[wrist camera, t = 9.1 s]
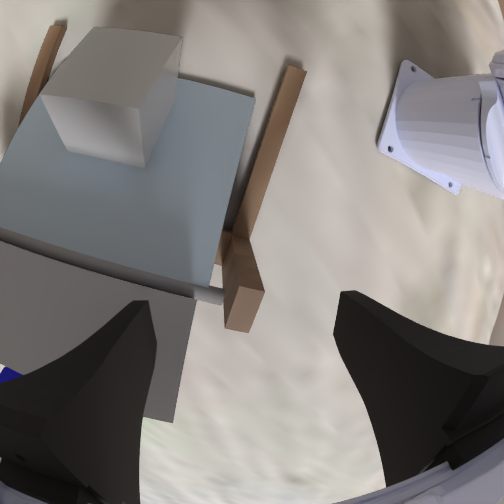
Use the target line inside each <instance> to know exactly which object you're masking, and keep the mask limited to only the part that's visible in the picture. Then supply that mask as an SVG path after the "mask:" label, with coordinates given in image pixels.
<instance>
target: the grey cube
mask: <svg viewBox="0 0 504 504" xmlns="http://www.w3.org/2000/svg"><path fill="white" fill-rule="evenodd" d="M182 39H183V37H178V36H173V35H167V34H161V33H154V32H147V31H140V30H131V29H120V28H107V27H94V28H93V29H92V30H91V31H90V32H89V33H88V34H87V35H86V36H85V37H84V39H83V40H82V41H81V42H80V43H79V44H78V45H77V47H76V48H75V49H74V50H73V51H72V52H71V54H70V55H69V56H68V57H67V58H66V60H65V61H64V62H63V63H62V65H61V66H60V67H59V69H58V70H57V71H56V72H55V74H54V75H53V76H52V78H51V79H50V81H49V82H48V83H47V85H46V86H45V88H44V89H43V90H42V92H41V93H40V96H41V98H42V101H43V103H44V105H45V107H46V109H47V111H48V113H49V115H50V118H51V120H52V122H53V124H54V126H55V128H56V130H57V132H58V134H59V136H60V137H61V139H62V141H63V143H64V145H65V147H66V149H67V151H69V152H74V153H78V154H83V155H88V156H92V157H97V158H101V159H105V160H110V161H114V162H118V163H122V164H127V165H131V166H135V167H139V168H143V169H146V166H147V164H148V161H149V159H150V156H151V154H152V152H153V149H154V147H155V144H156V142H157V140H158V138H159V135H160V133H161V131H162V129H163V126H164V124H165V122H166V120H167V118H168V115H169V113H170V111H171V109H172V107H173V105H174V103H175V100H176V89H177V80H178V71H179V62H180V54H181V46H182Z"/></svg>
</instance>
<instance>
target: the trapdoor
mask: <svg viewBox="0 0 504 504" xmlns="http://www.w3.org/2000/svg"><path fill="white" fill-rule="evenodd" d="M61 65H62V64H61ZM61 65H60V66H61ZM60 66H59V67H60ZM58 69H59V68H58ZM58 69H57V70H58ZM57 70H56V71H57ZM56 71H55V72H56ZM54 74H55V73H54ZM54 74H53V75H54ZM51 78H52V77H51ZM51 78H50V79H51ZM49 81H50V80H49ZM49 81H48V82H49ZM48 82H47V83H48ZM46 85H47V84H46ZM46 85H45V86H46ZM44 88H45V87H44ZM44 88H43V89H44ZM41 92H42V91H41ZM41 92H40V93H41ZM255 101H256V99H255V98H252V97H249V96H245V95H242V94H239V93H235V92H232V91H229V90H225V89H221V88H218V87H214V86H210V85H206V84H202V83H198V82H194V81H190V80H185V79H181V78H178V80H177V89H176V100H175V103H174V105H173V107H172V109H171V111H170V113H169V115H168V118H167V120H166V122H165V124H164V126H163V129H162V131H161V133H160V135H159V138H158V140H157V142H156V144H155V147H154V149H153V152H152V154H151V156H150V159H149V161H148V164H147V166H146V169H143V168H139V167H135V166H131V165H127V164H122V163H118V162H114V161H110V160H105V159H101V158H97V157H92V156H88V155H83V154H78V153H74V152H69V151H67V149H66V147H65V145H64V143H63V141H62V139H61V137H60V136H59V134H58V132H57V130H56V128H55V126H54V124H53V122H52V120H51V118H50V115H49V113H48V111H47V109H46V107H45V105H44V103H43V101H42V98H41V96H40V94H39V95H38V97H37V98H36V100H35V102H34V103H33V105H32V106H31V108H30V109H29V111H28V113H27V114H26V116H25V118H24V119H23V121H22V123H21V124H20V126H19V128H18V130H17V132H16V133H15V135H14V137H13V139H12V141H11V143H10V145H9V147H8V148H7V150H6V152H5V154H4V157H3V159H2V161H1V163H0V364H2V365H4V366H6V367H8V368H10V369H12V370H14V371H16V372H18V373H20V374H22V375H25V374H28V373H30V372H32V371H34V370H37V369H39V368H41V367H43V366H45V365H46V364H48V363H50V362H52V361H54V360H56V359H58V358H60V357H61V356H63V355H64V354H66V353H68V352H69V351H71V350H72V349H74V348H75V347H77V346H78V345H80V344H81V343H82V342H84V341H85V340H86V339H87V338H89V337H90V336H91V335H92V334H94V333H95V332H96V331H97V330H99V329H100V328H101V327H102V326H104V325H105V324H106V323H107V322H108V321H109V320H110V319H112V318H113V317H114V316H115V315H116V314H117V313H118V312H120V311H121V310H122V309H123V308H124V307H125V306H127V305H128V304H129V303H130V302H132V301H133V300H149V306H150V311H151V316H152V321H153V326H154V331H155V335H156V340H157V351H156V360H155V367H154V371H153V375H152V380H151V384H150V388H149V392H148V396H147V400H146V404H145V409H144V413H143V417H147V418H151V419H156V420H160V421H165V422H170V423H173V419H174V413H175V408H176V402H177V397H178V391H179V386H180V380H181V375H182V370H183V365H184V359H185V354H186V349H187V344H188V340H189V335H190V330H191V325H192V320H193V316H194V311H195V307H196V302H197V300H200V301H204V302H208V303H213V304H217V305H222V303H223V300H224V296H225V289H222V288H218V287H213V286H209V284H210V279H211V275H212V270H213V266H214V262H215V257H216V253H217V249H218V244H219V240H220V236H221V232H222V228H223V224H224V219H225V215H226V211H227V207H228V203H229V199H230V195H231V191H232V187H233V183H234V179H235V176H236V172H237V168H238V164H239V160H240V156H241V153H242V149H243V145H244V141H245V138H246V134H247V130H248V127H249V123H250V119H251V116H252V112H253V109H254V105H255ZM4 242H5V243H4ZM7 243H8V244H7ZM10 244H11V245H10ZM15 246H16V247H15ZM18 247H19V248H18ZM21 248H22V249H21ZM24 249H25V250H24ZM32 252H33V253H32ZM35 253H36V254H35ZM38 254H39V255H38ZM41 255H42V256H41ZM44 256H45V257H44ZM47 257H48V258H47ZM50 258H51V259H50ZM53 259H54V260H53ZM56 260H57V261H56ZM59 261H60V262H59ZM62 262H63V263H62ZM69 264H70V265H69ZM72 265H73V266H72ZM75 266H76V267H75ZM78 267H79V268H78ZM81 268H82V269H81ZM85 269H86V270H85ZM88 270H89V271H88ZM91 271H92V272H91ZM95 272H96V273H95ZM98 273H99V274H98ZM101 274H102V275H101ZM105 275H106V276H105ZM108 276H109V277H108ZM112 277H113V278H112ZM115 278H116V279H115ZM122 280H123V281H122ZM126 281H127V282H126ZM129 282H130V283H129ZM133 283H134V284H133ZM136 284H137V285H136ZM140 285H141V286H140ZM144 286H145V287H144ZM148 287H149V288H148ZM151 288H152V289H151ZM155 289H156V290H155ZM159 290H160V291H159ZM163 291H164V292H163ZM167 292H168V293H167ZM171 293H172V294H171ZM174 294H176V295H174ZM178 295H179V296H178ZM182 296H184V297H182ZM187 297H188V298H187ZM191 298H192V299H191ZM195 299H196V300H195Z"/></svg>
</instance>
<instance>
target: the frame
mask: <svg viewBox="0 0 504 504" xmlns="http://www.w3.org/2000/svg"><path fill="white" fill-rule="evenodd" d="M66 29H67V28H66V27H64V26H63V25H54V26H50V27H49V29H48V32H47V34H46V37H45V39H44V42H43V44H42V47H41V49H40V52H39V55H38V58H37V61H36V64H35V66H34V70H33V73H32V76H31V79H30V82H29V86H28V89H27V93H26V97H25V101H24V105H23V109H22V113H21V117H20V122H19V126H20V124H21V123H22V121H23V119H24V118H25V116H26V114H27V113H28V111H29V109H30V108H31V106H32V105H33V103H34V102H35V100H36V98H37V97H38V95H39V94H40V92H41V91H42V90H43V88H44V87H45V85H46V84H47V81H48V77H49V74H50V71H51V68H52V65H53V62H54V59H55V57H56V54H57V51H58V49H59V46H60V43H61V41H62V38H63V36H64V34H65V31H66ZM306 73H307V71H304V70H302V69H299V68H297V67H294V66H291V65H289V66H288V67H287V68H286V70H285V73H284V76H283V79H282V82H281V84H280V87H279V90H278V93H277V96H276V99H275V101H274V104H273V107H272V110H271V113H270V116H269V119H268V122H267V125H266V127H265V130H264V133H263V136H262V139H261V142H260V145H259V148H258V151H257V154H256V157H255V160H254V163H253V166H252V169H251V172H250V175H249V178H248V181H247V184H246V187H245V190H244V194H243V197H242V200H241V203H240V206H239V209H238V212H237V215H236V219H235V222H234V225H233V228H232V231H229V230H226V229H222V232H221V236H220V240H219V244H218V249H217V253H216V257H215V262H214V264H217V265H221V266H222V279H223V289H225V296H224V300H223V302H224V323H225V328H226V329H230V330H235V331H240V332H246V333H249V331H250V328H251V326H252V323H253V321H254V318H255V316H256V313H257V311H258V308H259V306H260V303H261V301H262V298H263V295H264V293H265V291H264V287H263V284H262V280H261V277H260V274H259V270H258V267H257V264H256V260H255V257H254V253H253V250H252V247H251V243H250V240H249V239H250V236H251V233H252V230H253V227H254V224H255V221H256V219H257V216H258V213H259V210H260V207H261V204H262V201H263V198H264V195H265V192H266V189H267V186H268V183H269V180H270V177H271V174H272V171H273V168H274V166H275V163H276V160H277V157H278V154H279V151H280V148H281V145H282V142H283V139H284V136H285V133H286V131H287V128H288V125H289V122H290V119H291V116H292V113H293V110H294V107H295V104H296V102H297V99H298V96H299V93H300V90H301V87H302V84H303V81H304V78H305V76H306ZM18 128H19V127H18Z"/></svg>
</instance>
